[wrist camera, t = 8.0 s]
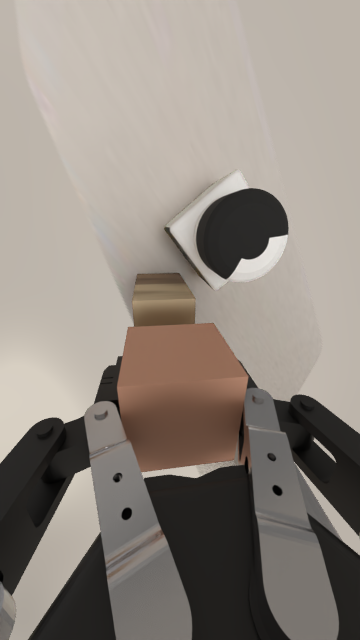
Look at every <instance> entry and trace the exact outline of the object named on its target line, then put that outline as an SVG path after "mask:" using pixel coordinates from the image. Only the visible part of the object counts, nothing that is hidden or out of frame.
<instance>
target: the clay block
mask: <svg viewBox="0 0 360 640" xmlns="http://www.w3.org/2000/svg"><path fill="white" fill-rule="evenodd" d="M248 377H249V376H248V375H247V373H246V372H245V370H244V369H243V367H242V366H241V364H240V363H239V361H238V360H237V358H236V357H235V355H234V353H233V352H232V350H231V349H230V347H229V346H228V344H227V343H226V341H225V340H224V338H223V337H222V335H221V334H220V332H219V331H218V329H217V328H216V326H215V325H214V323H204V324H182V325H161V326H140V327H128V330H127V336H126V342H125V346H124V352H123V357H122V362H121V368H120V373H119V379H118V384H117V391H118V399H119V406H120V414H121V421H122V425H123V428H124V431H125V434H126V437H127V439H129V440H130V442H131V445H132V448H133V451H134V453H135V456H136V459H137V462H138V465H139V468H140V471H141V472H147V471H153V470H162V469H170V468H176V467H185V466H192V465H200V464H208V463H215V462H223V461H230V460H234V458H235V452H236V446H237V440H238V435H239V429H240V423H241V417H242V412H243V406H244V400H245V394H246V388H247V383H248Z"/></svg>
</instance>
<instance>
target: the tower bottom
mask: <svg viewBox="0 0 360 640" xmlns="http://www.w3.org/2000/svg"><path fill="white" fill-rule="evenodd" d="M177 283H185V282H184V280H183V278H182V277H181V275H180V274H179V273H163V274H137V279H136V284H135V285H140V284H177Z"/></svg>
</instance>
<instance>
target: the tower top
mask: <svg viewBox="0 0 360 640" xmlns="http://www.w3.org/2000/svg"><path fill="white" fill-rule="evenodd" d="M132 306H133V318H134V327H140V326H161V325H182V324H195V297H194V296H193V294H192V292H191V291H190V289H189V288H188V286H187V285H186V283H177V284H140V285H135V289H134V294H133V299H132Z"/></svg>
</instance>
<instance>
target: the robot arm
mask: <svg viewBox="0 0 360 640" xmlns="http://www.w3.org/2000/svg"><path fill="white" fill-rule="evenodd" d="M122 357H123V356H118V359H117V363H116V365H111V366H108V367H107V368H106V369H105V370H104V373H103V375H102V379H101V382H100V385H99V389H98V392H97V395H96V399H95V402H94V404H93V405H92V406H91V407H89V408H88V409H87V411H86V412H85V415H84V416H83V417H81V418H79V419H76V420H74V421H71V422H68V423H65V424H64V423H63V421H62V420H61V419H59V418H48V419H44V420H42V421H40V422H38V423H36V424H35V425H34V426H32V427H31V429H29V431H28V432H27V433H26V434H25V435H24V436H23V438H22V439H21V440H20V441H19V442H18V443H17V445H16V446H15V447H14V448H13V449H12V451H11V452H10V453H9V454H8V455H7V456H6V458H5V459H4V460H3V461H2V462H1V463H0V640H9V637H10V635H11V632H12V630H13V626H14V623H15V617H16V605H15V601H14V599H13V597H12V594H13V593H14V591H15V589H16V587H17V585H18V583H19V581H20V579H21V577H22V575H23V573H24V571H25V569H26V567H27V565H28V563H29V561H30V560H31V558H32V556H33V554H34V552H35V550H36V548H37V546H38V544H39V542H40V540H41V538H42V536H43V535H44V533H45V531H46V529H47V527H48V524H49V523H50V521H51V519H52V517H53V515H54V513H55V511H56V509H57V507H58V505H59V504H60V502H61V500H62V498H63V496H64V494H65V492H66V490H67V488H68V486H69V484H70V482H71V480H72V478H73V477H74V474H75V473H77V472H80V471H82V470H84V469H86V468H88V467H91V471H92V478H93V485H94V491H95V498H96V504H97V510H98V517H99V524H100V530H101V532H100V534H99V535H98V536H97V538H96V539H95V541H94V542H93V544H92V545H91V547H90V548H89V550H88V552H87V553H86V554H85V556H84V557H83V559H82V560H81V562H80V563H79V565H78V566H77V568H76V569H75V571H74V572H73V574H72V575H71V577H70V578H69V580H68V581H67V582H66V584H65V585H64V587H63V588H62V590H61V591H60V593H59V594H58V596H57V597H56V599H55V600H54V602H53V603H52V605H51V606H50V608H49V609H48V611H47V612H46V614H45V615H44V617H43V618H42V620H41V621H40V623H39V624H38V626H37V627H36V629H35V630H34V631H33V633H32V635H31V636H30V637H29V639H28V640H360V555H358V554H357V553H356V552H355V551H354V550H352V549H351V548H350V547H349V546H347V545H346V544H345V543H344V542H343V541H342V539H341V538H340V536H339V535H338V533H337V531H336V530H335V528H334V527H333V525H332V523H331V522H330V520H329V519H328V517H327V515H326V514H325V512H324V511H323V509H322V507H321V505H320V504H319V502H318V500H317V499H316V497H315V496H314V494H313V492H312V491H311V489H310V487H309V486H308V484H307V483H306V481H305V479H304V478H303V476H302V474H301V473H300V471H299V470H298V468H297V466H296V465H295V463H296V464H297V465H298V466H299V468H300V469H301V470H302V471H303V472H304V473H305V475H306V476H307V477H308V478H309V479H310V480H311V482H312V483H313V484H314V485H315V486H316V487H317V488H318V490H319V491H320V492H321V493H322V494H323V495H324V497H325V498H326V499H327V500H328V501H329V502H330V504H331V505H332V506H333V507H334V508H335V509H336V510H337V512H338V513H339V514H340V515H341V516H342V517H343V519H344V520H345V521H346V522H347V523H348V524H349V525H350V527H351V528H352V529H353V530H354V531H355V532H356V534H357V535H358V536H359V538H360V434H359V433H358V432H356V431H355V430H354V429H352V428H351V427H350V426H349V425H347V424H346V423H345V422H343V421H342V420H341V419H340V418H338V417H337V416H336V415H334V414H333V413H332V412H331V411H329V410H328V409H327V408H325V407H324V406H323V405H322V404H320V403H319V402H318V401H316V400H315V399H313V398H311V397H309V396H306V395H294V396H293V397H292V398H291V401H290V402H287V401H280V400H275V399H273V398H272V396H271V395H270V394H269V393H268V392H266V391H264V390H262V389H259V388H258V387H257V386H256V384H255V383H254V381H253V380H252V378H251V377H250V375H249V374H248V373H247V371H246V369H245V368H244V366H243V365H242V363H241V362H240V361H239V360H238V361H239V363H240V364H241V366H242V367H243V369H244V370H245V372H246V373H247V375H248V376H249V377H248V383H247V388H246V394H245V400H244V406H243V412H242V417H241V423H240V429H239V435H238V440H237V446H236V452H235V458H234V461H235V463H236V466H229V467H222V468H218V469H216V470H214V471H212V472H210V473H207V474H205V475H203V476H201V477H198V478H190V477H182V476H176V475H163V476H156V477H149V478H144V479H143V476H142V473H141V471H140V468H139V465H138V462H137V459H136V456H135V453H134V451H133V448H132V445H131V442H130V440H129V439H127V437H126V434H125V431H124V428H123V425H122V421H121V414H120V406H119V399H118V391H117V384H118V379H119V373H120V368H121V362H122ZM314 437H315V438H316V439H317V440H318V441H319V442H320V443H321V444H322V445H323V446H324V447H325V448H326V449H327V450H328V451H330V453H331V454H332V455H333V456H334V458H335V460H336V462H335V461H334V460H332V459H331V458H330V457H329V456H328V455H327V454H326V453H325V452H324V451H323V450H322V449H321V448H320V447H319V446H318V445H317V444H316V443H315V442H314V441H313V440H314ZM294 462H295V463H294Z"/></svg>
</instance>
